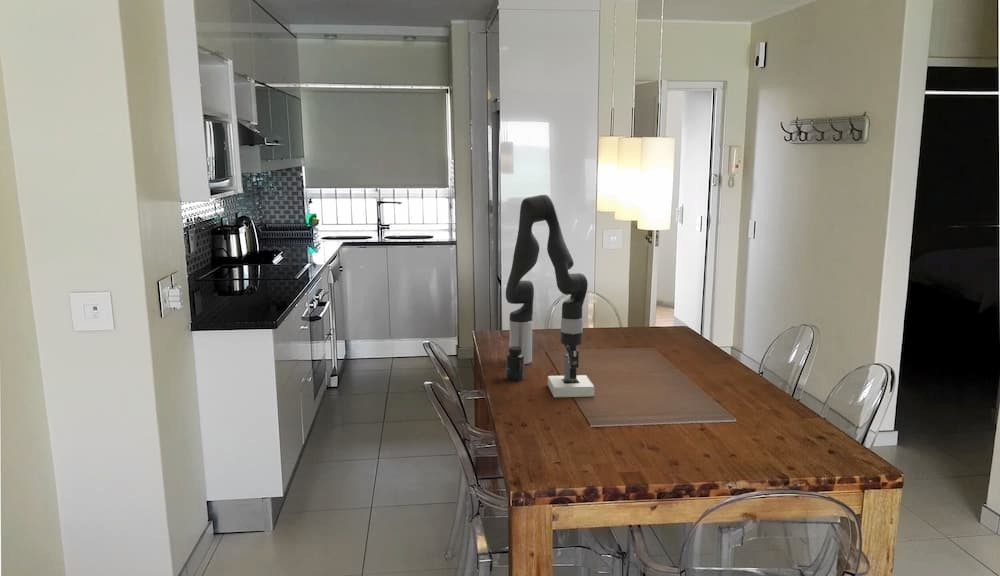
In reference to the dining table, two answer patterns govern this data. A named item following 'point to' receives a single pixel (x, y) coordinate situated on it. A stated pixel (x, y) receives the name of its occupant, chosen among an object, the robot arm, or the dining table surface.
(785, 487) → the dining table surface
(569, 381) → the graphite peg
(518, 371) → the supplement bottle
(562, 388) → the socket block
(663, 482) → the dining table surface
